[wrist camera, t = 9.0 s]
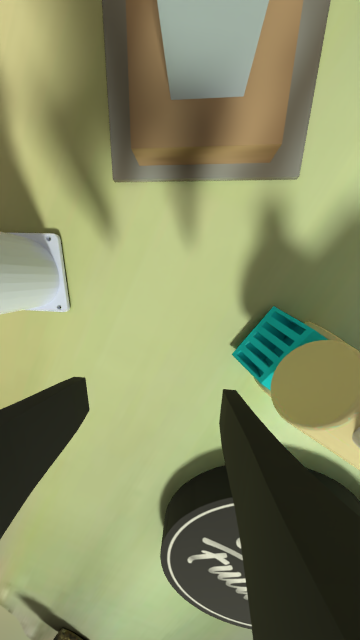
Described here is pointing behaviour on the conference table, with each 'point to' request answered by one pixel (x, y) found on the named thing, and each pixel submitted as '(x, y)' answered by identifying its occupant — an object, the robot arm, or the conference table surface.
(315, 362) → the toy train
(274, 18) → the base block
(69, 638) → the statue
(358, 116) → the conference table surface
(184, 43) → the block
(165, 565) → the wall sign
